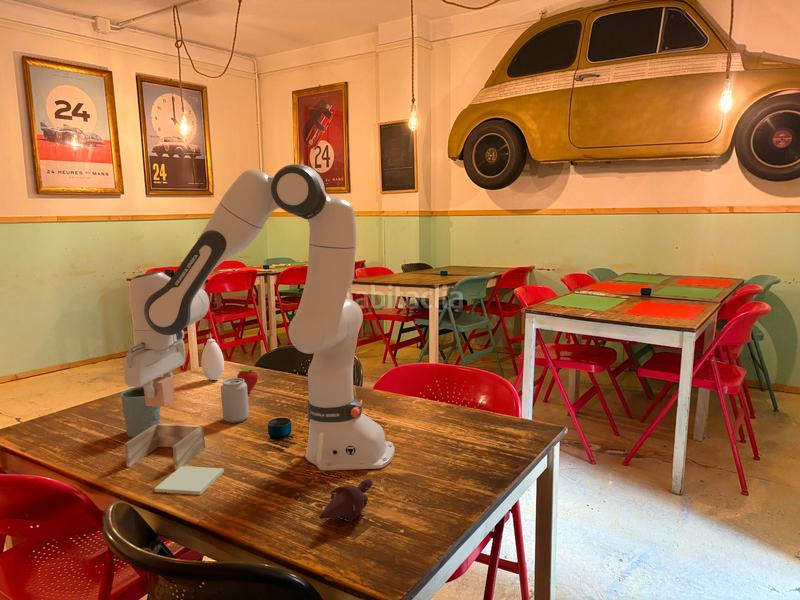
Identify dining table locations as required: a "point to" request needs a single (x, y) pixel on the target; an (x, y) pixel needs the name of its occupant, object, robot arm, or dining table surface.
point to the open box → (167, 442)
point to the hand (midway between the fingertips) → (159, 393)
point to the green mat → (189, 480)
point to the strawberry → (248, 378)
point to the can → (234, 400)
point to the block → (161, 392)
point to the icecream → (347, 501)
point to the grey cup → (138, 412)
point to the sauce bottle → (212, 360)
